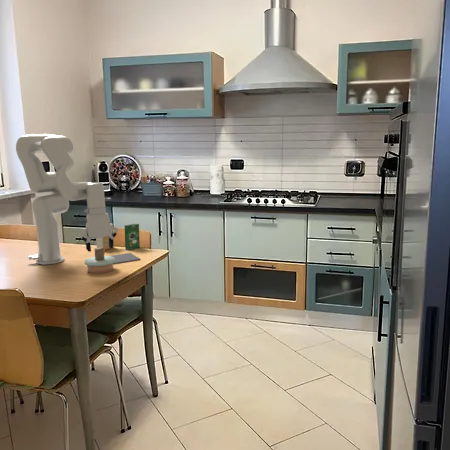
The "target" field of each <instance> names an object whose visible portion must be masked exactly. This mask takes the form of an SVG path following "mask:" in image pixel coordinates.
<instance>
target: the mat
mask: <svg viewBox="0 0 450 450" xmlns="http://www.w3.org/2000/svg"><path fill="white" fill-rule="evenodd" d="M111 256H112V257H114V258H115V262H114V263H113V265H117V264H123V263H130V262H137V261H141V258H139V257H138V256H136V255H135V254H133V253H132V252H127V253H119V254H112V255H111Z"/></svg>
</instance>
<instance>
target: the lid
mask: <svg viewBox="0 0 450 450" xmlns="http://www.w3.org/2000/svg"><path fill="white" fill-rule="evenodd" d="M93 251H94V256H91V257H88V258H85V260H84V265H85V266H87V265H88V266H105V265H109V264H112V263H114V262H115V258H114V257H112V255H105V250H104V248H97V247H95V248H94V250H93Z"/></svg>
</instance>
